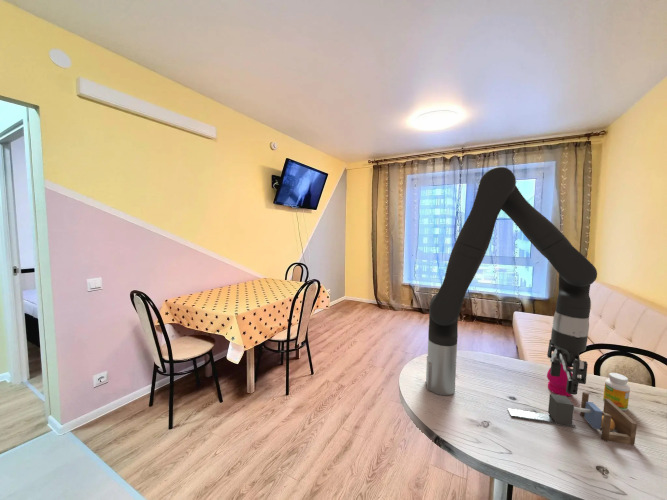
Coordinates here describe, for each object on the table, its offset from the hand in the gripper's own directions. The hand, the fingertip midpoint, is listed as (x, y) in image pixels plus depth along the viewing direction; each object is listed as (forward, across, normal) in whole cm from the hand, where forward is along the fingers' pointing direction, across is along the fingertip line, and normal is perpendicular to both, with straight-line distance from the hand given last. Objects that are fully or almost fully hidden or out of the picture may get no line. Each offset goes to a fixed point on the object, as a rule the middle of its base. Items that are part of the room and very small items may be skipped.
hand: (562, 384), depth 77 cm
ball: (+10, 0, +11) cm, 15 cm away
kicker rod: (+11, 0, +4) cm, 11 cm away
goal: (+11, 0, +12) cm, 16 cm away
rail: (+12, 0, -4) cm, 13 cm away
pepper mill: (+12, -17, +8) cm, 22 cm away
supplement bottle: (+11, -13, +21) cm, 27 cm away
